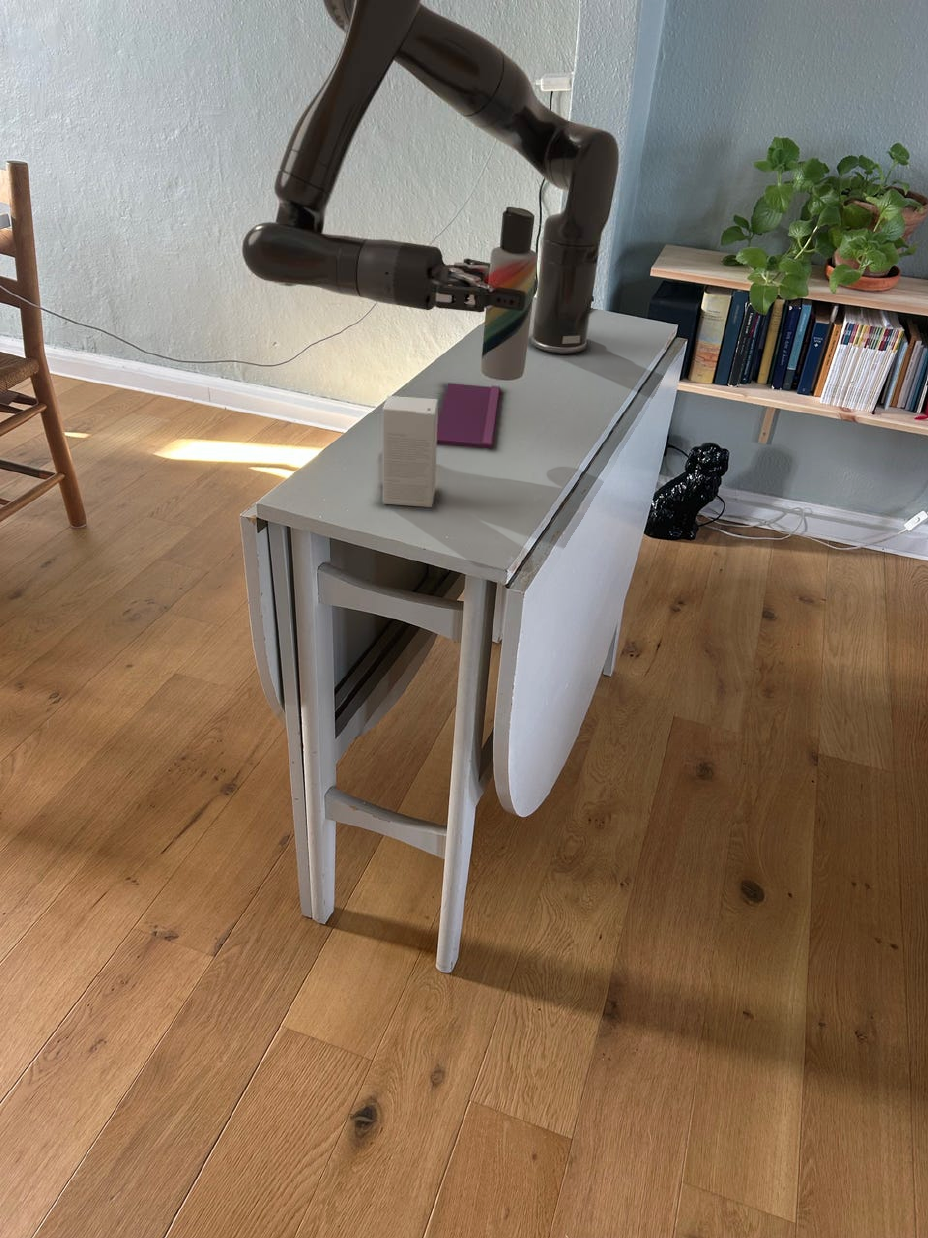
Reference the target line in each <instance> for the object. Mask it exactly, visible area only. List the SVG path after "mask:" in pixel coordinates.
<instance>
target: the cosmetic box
mask: <svg viewBox="0 0 928 1238" xmlns="http://www.w3.org/2000/svg"><path fill="white" fill-rule="evenodd" d="M381 414H382V415H381V417H382V420H381V421H382V422H381V423H382V503H383V504H385V505H395V506H396V505H398V506H411V507H425V508H432V507H433V503H434V499H435V493H436V481H437V480H436V479H437V478H436V475H437V450H438V449H437V447H438V443H437V424H438V420H439V415H438V414H439V400H438V398H424V397H413V396H412V397H410V396H397V395H387V397H386V399H385V402H384V405H383V407H382V410H381Z"/></svg>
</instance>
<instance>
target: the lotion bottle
mask: <svg viewBox="0 0 928 1238" xmlns="http://www.w3.org/2000/svg"><path fill="white" fill-rule="evenodd" d="M501 215H502V216H501V226H500V227H501V228H500V239H499V246H497V247H494V248H493V249H492V250H491V253H490V259H489V260H490V262H489V263H490V270H489V281H488V285H492V286H494V287H495V291H496V288H497V287H501V288H507V289H514V290H520V291H524V292H526V304H525V308H524V309H523V310H522V311H516V310H510V309H504V308H498V307H494V305H493V308H492V309H486V308H485V314H484V315H485V316H484V326H483V328H484V330H483V339H482V349H481V363H480V371H481V373H482V374H483V375H484V376H485V377H487V378H490V379H492V380H497V381H504V382H505V381H508V382H509V381H516V380H518V379H521V378H522V377H523V375H524V374H525V368H526V360H527V353H528V344H529V335H530V328H531V319H532V310H533V302H534V295H535V294H534V286H535V278H536V276H537V270H538V269H537V267H538V261H539V260H538V258H539V257H538V256H539V255H538V253H537V252H536V251H534V250H532V242H533V236H534V235H533V234H534V225H535V217H536V216H535V214H534V213H532V211H530V210H528V209H525V208H522V207H515V206H507V207H506V208H505V210H504V211H503V212H502V214H501ZM536 279H537V278H536ZM533 294H534V295H533Z"/></svg>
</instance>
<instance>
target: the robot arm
mask: <svg viewBox="0 0 928 1238" xmlns="http://www.w3.org/2000/svg"><path fill="white" fill-rule="evenodd" d="M322 3H323V6H324V8H325V10H326V13H327V14H328V17H329V18H330V20H331V21H332V22H333V24H334V25H335V26H336V27H337V28H338V29H339V30H341V31H342V32H343V34H345V37H344V41H343V44H342V47H341V49H340V52H339V54H338V57H337V59H336V61H335V63H334V66H333V67H332V68H331V70H330V72H329V74H328V76H327V78H326V79H325V81H324V82H323V84H322V86H321V87H320V88H319V90H318V91H317V92H316V94H315V95H314V97H313V98H312V99H311V101H310V102H309V104H308V105H307V107H306V108H305V109H304V111H303V112H302V113H301V116H299V119H298V121H297V122H296V124H295V126H294V129H293V131H292V133H291V135H290V138H289V140H288V142H287V145H286V148H285V151H284V153H283V156H282V160H281V162H280V165H279V168H278V169H279V170H278V171H277V173H276V177H275V181H274V184H273V185H274V186H273V191H274V194H275V196H276V198H277V200H278V209H277V214H276V218H275V222H274V221H267V222H266V221H265V222H261V223H259V224H256V225H255V226H253V227H251V229H249V231H248V232H247V233H246V234H245V236H244V238H243V240H242V246H241V247H242V248H241V252H242V258H243V260H244V263H245V265H246V267H247V268H248V270H250V272H251V273H252V274H253V275H255V276H256V277H257V278H258V279H260V280H262V281H265V282H269V283H272V284H275V285H280V286H282V287H295V286H298V285H300V286H307V287H315V288H319V289H323V290H325V291H328V292H332V293H335V294H339V295H344V296H345V295H346V296H350V297H356V298H364V299H367V300H371V301H374V302H377V303H380V304H387V305H394V306H399V307H400V306H401V307H405V308H411V309H416V310H417V309H418V310H425V311H431V310H432V309H434V308H438V309H445V310H454V311H455V310H457V311H462V312H463V311H464V312H472V313H473V312H474V313H484V312H485V310H486V309H492V308H493V305H494V307H498V308H504V309H510V310H516V311H522V310H523V309H524V308H525V304H526V292H524V291H520V290H514V289H507V288H501V287H497V288H496V291H495V287H494V286H492V285H488V281H489V270H490V262H485V261H480V260H476V259H471V258H468V257H467V258H464V259H463V262H457V261H456V262H454V263H453V264H445V262H444V260H443V258H444V257H443V253H442V251H441V249H440V248H438V247H437V246H433V245H426V244H419V243H414V242H413V243H412V242H404V241H399V240H393V239H386V238H385V239H382V238H381V239H379V238H378V239H375V238H374V239H373V238H365V237H357V236H351V235H342V234H330V233H323V232H324V227H325V219H326V218H325V217H326V211H327V209H328V205H329V203H330V201H331V198H332V195H333V193H334V190H335V188H336V185H337V183H338V180H339V177H340V174H341V171H342V169H343V167H344V163H345V161H346V159H347V155H348V153H349V150H350V148H351V145H352V143H353V141H354V139H355V136H356V134H357V132H358V131H359V130H358V129H359V128H360V126H361V123H362V121H363V119H364V118H365V115H366V114H367V112H368V110H369V107H370V106H371V104H372V102H373V100H374V98H375V96H376V94H377V93H378V90H379V89H380V87H381V86H382V83H383V81H384V79H385V77H386V76H387V74H388V72H389V70H390V68H391V66H392V65H393V62H395V63H397V64H398V65H399V66H401V67H402V68H403V69H405V70H406V71H407V72H409V73H410V75H412V76H413V77H414V78H415V79H416V80H418V81H419V82H420V83H421V84H422V85H423V86H425V87H426V89H428V90H429V91H431V92H432V93H433V94H434V95H436V96H437V97H438V98H439V99H440V100H442V101H443V102H444V103H446V104H447V105H448V106H449V107H451V109H453V110H454V111H455V112H457V113H458V114H459V115H461V116H462V117H463V118H464V119H466V120H467V121H469V122H470V123H472V125H474V126H476V127H477V128H478V129H480V130H481V131H483V132H485V133H486V134H488V135H489V136H491V137H493V138H494V139H496V140H497V141H499V142H500V143H502V144H504V145H506V146H508V147H510V148H511V149H513V150H514V151H516V152H517V153H518V154H519V155H521V156H522V157H523V159H524V160H525V161H526V162H527V163H529V164H530V165H531V166H532V167H533V168H534V169H535V171H537V172H538V173H539V174H540V176H542V177H543V178H544V179H545V180H546V181H547V182H548V183H549V184H551V185H552V186H554V187H556V188H558V189H560V190H564V191H566V192H567V198H566V202H565V207H564V209H563V211H562V212H558V213H555V214H554V213H553V214H551V215H549V216H548V217H546V219H545V221H544V224H543V233H542V242H541V251H540V264H539V270H538V271H539V272H538V280H537V278H535V286H534V294H533V296H535V294H536V297H535V298H536V299H535V307H534V308H535V309H534V315H533V318H534V319H533V327H532V334H531V338H530V343H531V345H533V346H534V347H535V348H536V349H539V350H541V351H544V352H548V353H552V354H564V355H566V354H567V355H568V354H576V353H577V354H578V353H580V352H582V351H584V350H585V349H586V347H587V343H588V342H587V341H588V340H587V336H588V330H589V324H590V316H591V309H592V304H593V302H594V301H595V296H594V289H595V284H596V283H595V282H596V277H597V268H598V261H599V255H600V247H601V240H602V235H603V232H604V230H605V228H606V225H607V223H608V221H609V217H610V214H611V208H612V202H613V198H614V194H615V193H614V192H615V188H616V183H617V178H618V172H619V164H620V149H619V145H618V142H617V140H616V138H615V136H614V135H613V134H612V133H611V132H609V131H607V130H604V129H602V128H598V127H594V126H591V125H586V124H582V123H578V122H573V121H571V120H569V119H566V118H564V117H562V116H561V115H559V114H557V113H556V112H554V111H553V110H551V109H550V108H548V107H547V106H546V105H545V104H543V102H541V101H540V100H539V99H538V97H537V96H536V93H535V90H534V88H533V86H532V83H531V82H530V79H529V77H528V75H527V74H526V73H525V71H524V70H523V69H522V68H521V67H520V66H519V64H518V63H517V62H516V61H514V60H513V59H512V58H511V57H510V56H508V55H507V54H506V53H505V52H503V50H502V49H500V48H499V47H498V46H497V45H495V44H494V43H493V42H491V41H490V40H488V39H487V38H486V37H484V36H483V35H480V34H478V33H477V32H475V31H473V30H471V29H469V28H467V27H465V26H464V25H462V24H459V23H457V22H455V21H454V20H451V19H449V18H447V17H445V16H443V15H441V14H439V13H437V12H435V11H434V10H432V9H430V8H428V7H427V6H425V4H422V2H421V0H322Z"/></svg>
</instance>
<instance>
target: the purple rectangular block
mask: <svg viewBox="0 0 928 1238" xmlns="http://www.w3.org/2000/svg"><path fill="white" fill-rule="evenodd" d="M501 389H502V388H501V387H500V385H499V386H498V385H491V386H485V385H472V384H462V383H453V382H452V383H450V382H448V383H447V387H446V390H445V393H444V398H443V402H442V405H441V409H440V413H439V415H438V421H437V444H442V445H443V444H444V445H451V446H452V445H453V446H462V447H473V448H485V449H493V448H494V441H495V434H496V428H497V427H496V426H497V420H498V419H497V418H498V412H499V404H500V397H501V396H500V395H501Z"/></svg>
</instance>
